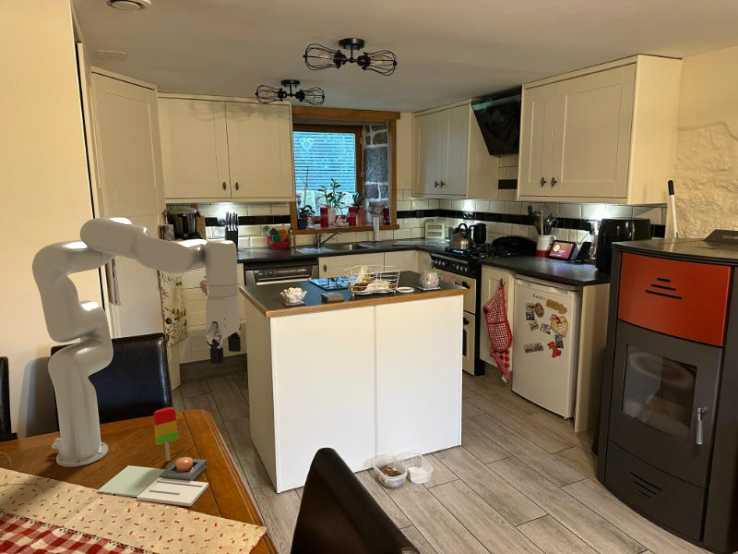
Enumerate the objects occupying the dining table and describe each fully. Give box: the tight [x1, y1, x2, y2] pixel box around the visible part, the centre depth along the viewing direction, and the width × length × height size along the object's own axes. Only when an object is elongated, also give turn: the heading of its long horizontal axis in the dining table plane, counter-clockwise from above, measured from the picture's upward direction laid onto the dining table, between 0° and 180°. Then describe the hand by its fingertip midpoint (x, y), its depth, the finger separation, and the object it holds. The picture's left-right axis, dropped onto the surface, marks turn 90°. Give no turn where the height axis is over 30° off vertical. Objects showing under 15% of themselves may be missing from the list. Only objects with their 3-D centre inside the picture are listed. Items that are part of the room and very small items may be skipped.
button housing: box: [161, 456, 208, 481], centre depth 133 cm, size 8×8×2 cm
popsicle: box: [153, 406, 178, 462], centre depth 139 cm, size 6×2×15 cm, turn 127°
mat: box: [96, 465, 167, 498], centre depth 130 cm, size 11×12×1 cm
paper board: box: [136, 477, 210, 507], centre depth 125 cm, size 14×9×1 cm, turn 79°
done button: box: [175, 456, 193, 472], centre depth 133 cm, size 4×4×2 cm
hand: (226, 357), depth 129 cm, fingers open, 9 cm apart
